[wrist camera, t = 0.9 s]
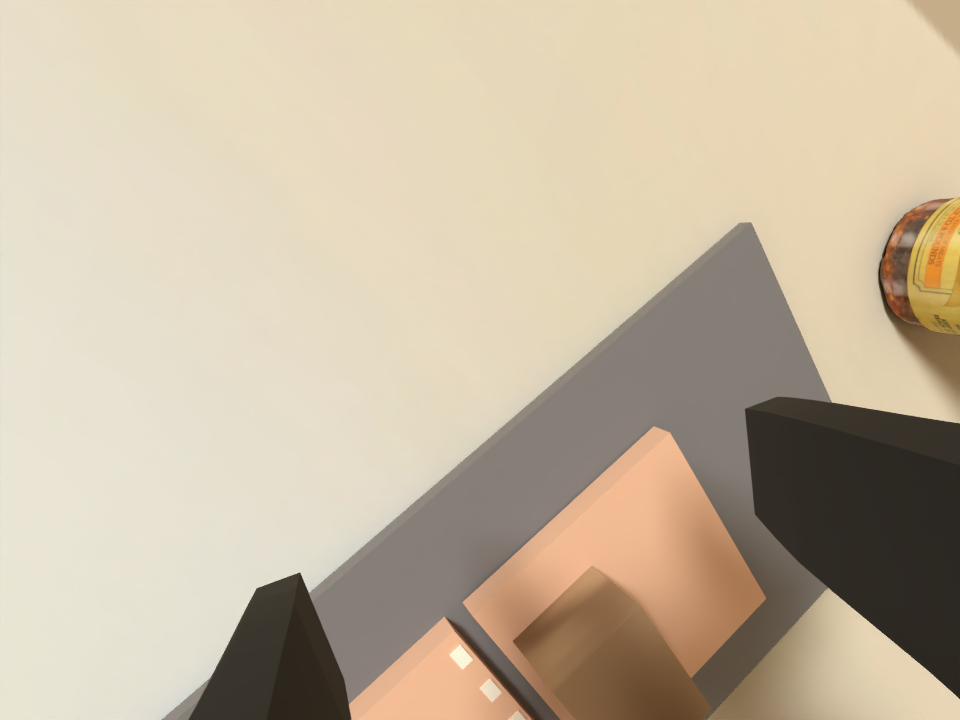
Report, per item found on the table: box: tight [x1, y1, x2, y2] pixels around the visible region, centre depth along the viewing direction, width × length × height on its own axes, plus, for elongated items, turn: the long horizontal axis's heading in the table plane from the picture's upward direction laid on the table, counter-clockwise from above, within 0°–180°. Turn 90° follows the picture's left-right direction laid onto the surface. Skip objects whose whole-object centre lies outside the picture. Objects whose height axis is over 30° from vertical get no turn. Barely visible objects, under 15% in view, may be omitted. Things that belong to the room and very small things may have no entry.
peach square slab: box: [462, 426, 766, 720], centre depth 25 cm, size 10×10×4 cm
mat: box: [162, 223, 832, 720], centre depth 27 cm, size 30×18×1 cm, turn 125°
